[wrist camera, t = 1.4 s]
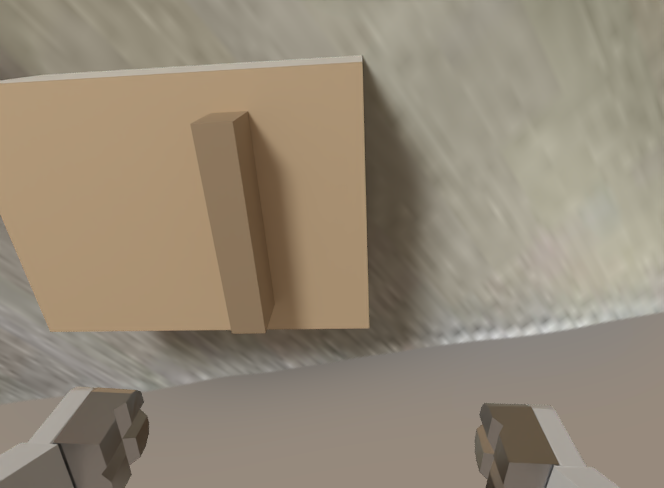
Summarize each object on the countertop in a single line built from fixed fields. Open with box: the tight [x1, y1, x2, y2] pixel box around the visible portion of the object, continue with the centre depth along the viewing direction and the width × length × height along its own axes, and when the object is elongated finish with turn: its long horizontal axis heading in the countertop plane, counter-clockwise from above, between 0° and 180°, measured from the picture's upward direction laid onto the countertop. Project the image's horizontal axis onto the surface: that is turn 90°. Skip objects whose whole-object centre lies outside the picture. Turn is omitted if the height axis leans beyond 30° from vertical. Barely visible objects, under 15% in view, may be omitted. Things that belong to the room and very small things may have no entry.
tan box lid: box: [0, 62, 369, 334], centre depth 24 cm, size 22×16×4 cm
